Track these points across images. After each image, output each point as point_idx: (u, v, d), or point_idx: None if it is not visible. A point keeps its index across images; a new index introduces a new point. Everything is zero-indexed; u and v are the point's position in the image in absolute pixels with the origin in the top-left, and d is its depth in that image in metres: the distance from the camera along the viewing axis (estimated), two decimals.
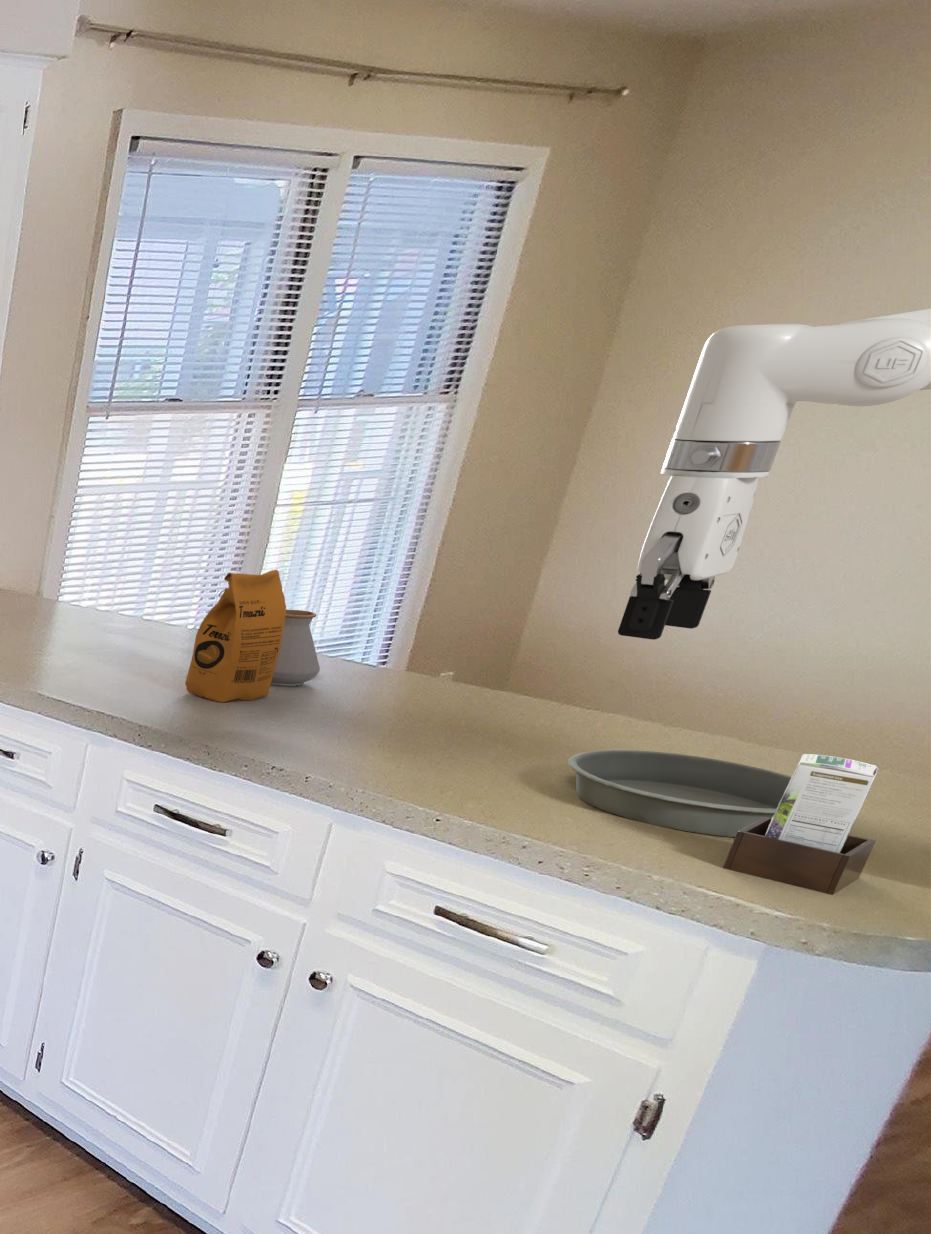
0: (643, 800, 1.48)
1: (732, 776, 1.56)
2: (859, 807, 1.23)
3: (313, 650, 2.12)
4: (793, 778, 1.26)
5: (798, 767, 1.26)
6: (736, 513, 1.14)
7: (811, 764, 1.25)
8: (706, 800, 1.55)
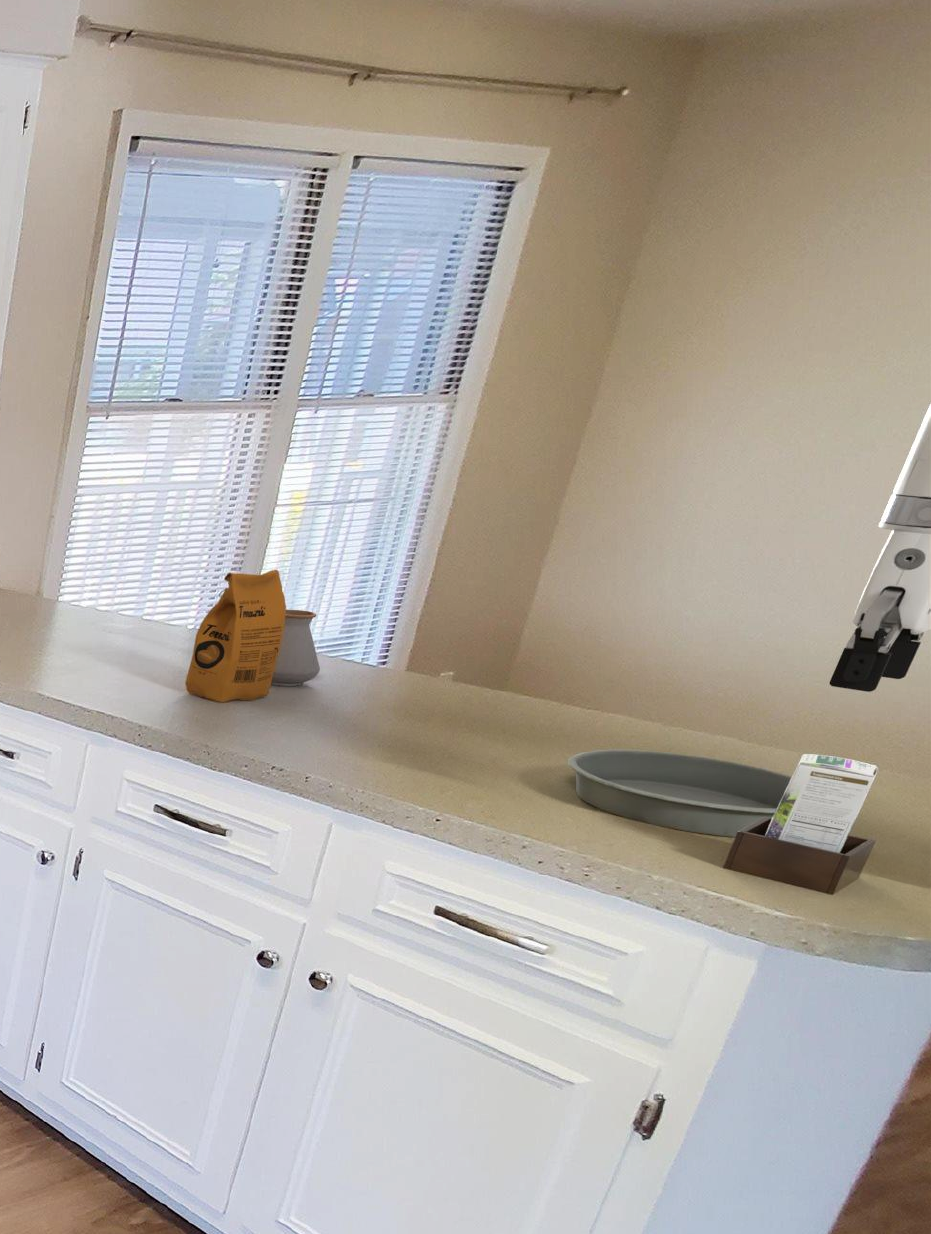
0: (643, 800, 1.48)
1: (732, 776, 1.56)
2: (859, 807, 1.23)
3: (313, 650, 2.12)
4: (793, 778, 1.26)
5: (798, 767, 1.26)
6: None
7: (811, 764, 1.25)
8: (706, 800, 1.55)
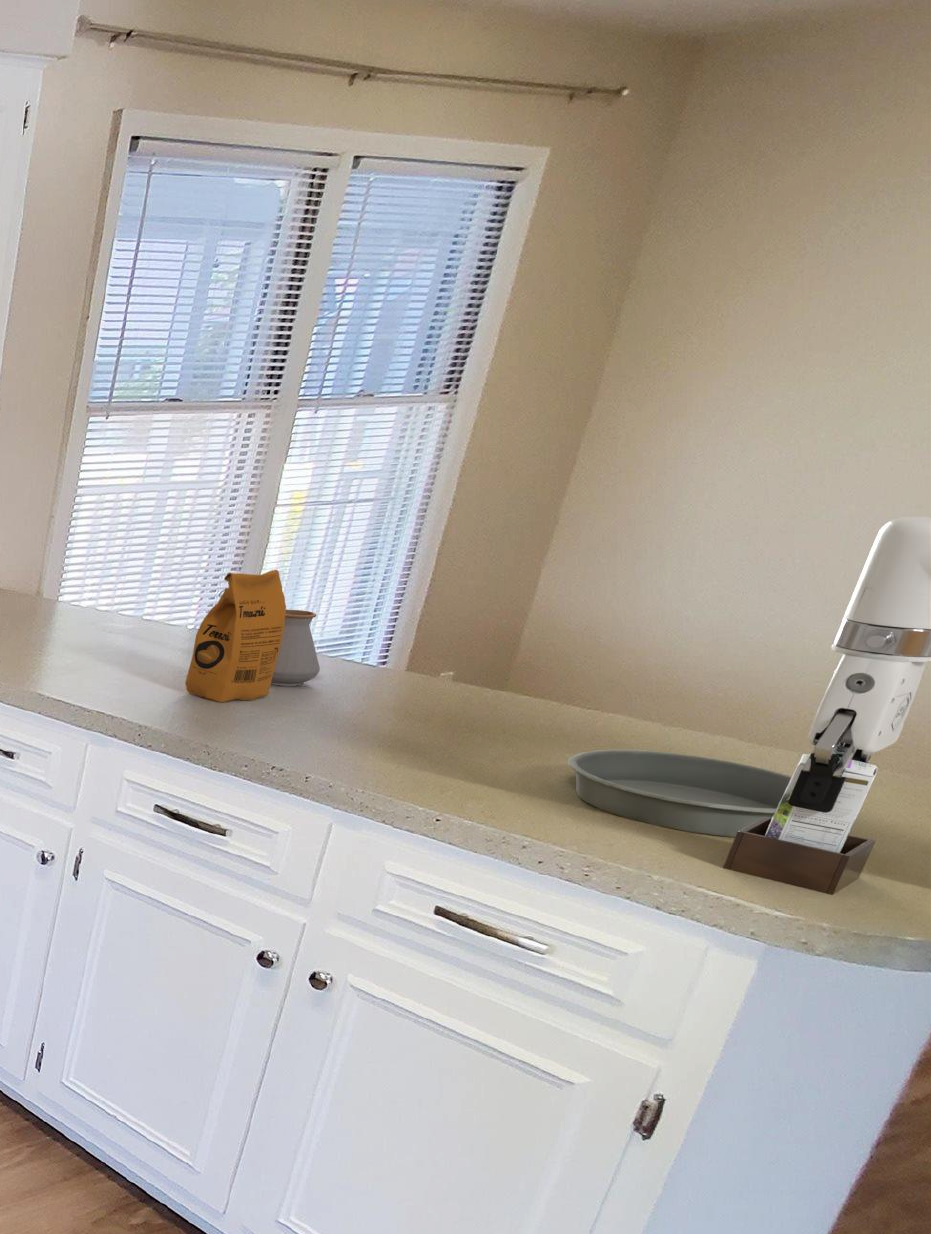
0: (643, 800, 1.48)
1: (732, 776, 1.56)
2: (859, 807, 1.23)
3: (313, 650, 2.12)
4: (793, 778, 1.26)
5: (798, 767, 1.26)
6: (908, 692, 1.20)
7: None
8: (706, 800, 1.55)
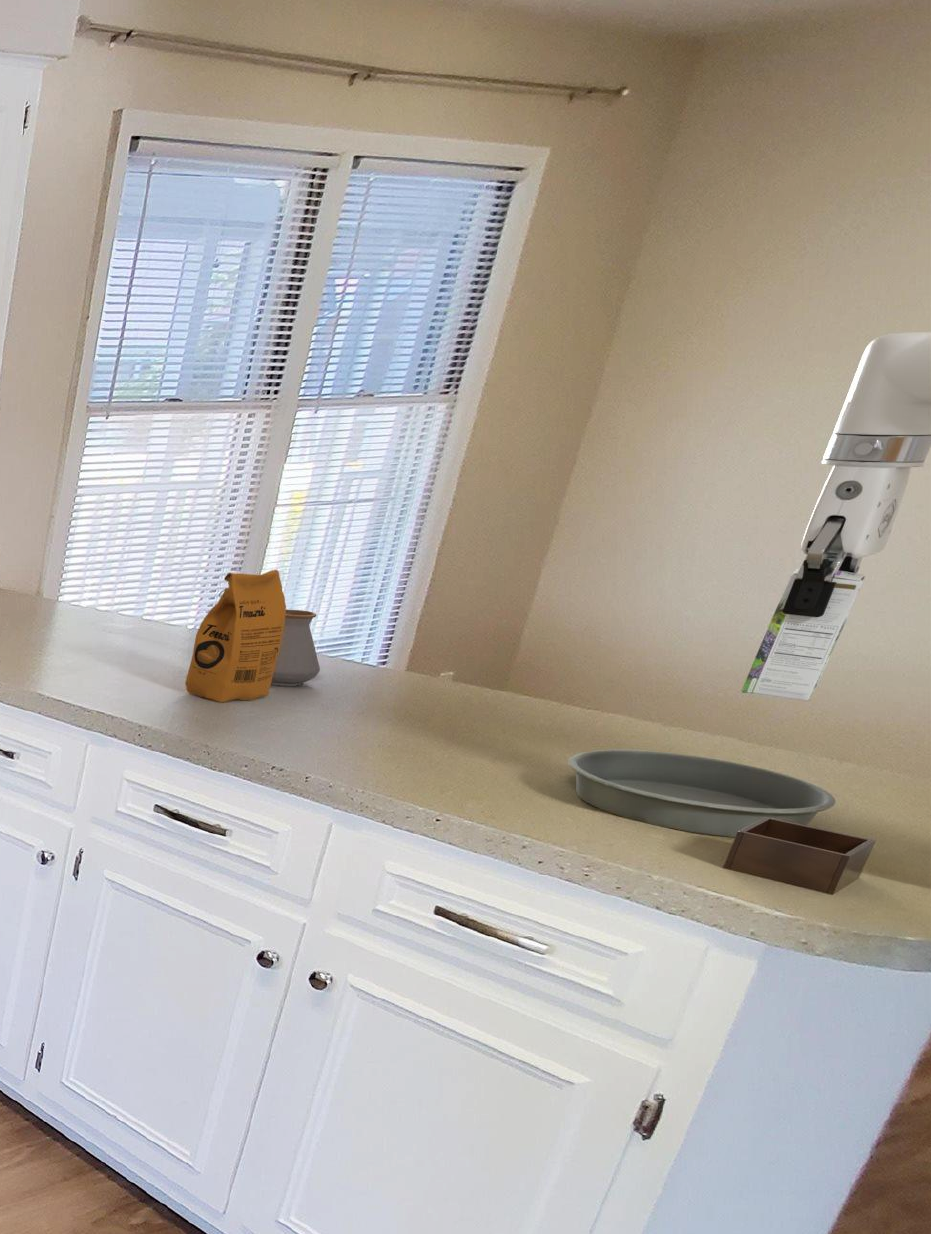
0: (643, 800, 1.48)
1: (732, 776, 1.56)
2: (847, 611, 1.33)
3: (313, 650, 2.12)
4: (786, 588, 1.36)
5: (791, 577, 1.35)
6: (893, 498, 1.29)
7: None
8: (706, 800, 1.55)
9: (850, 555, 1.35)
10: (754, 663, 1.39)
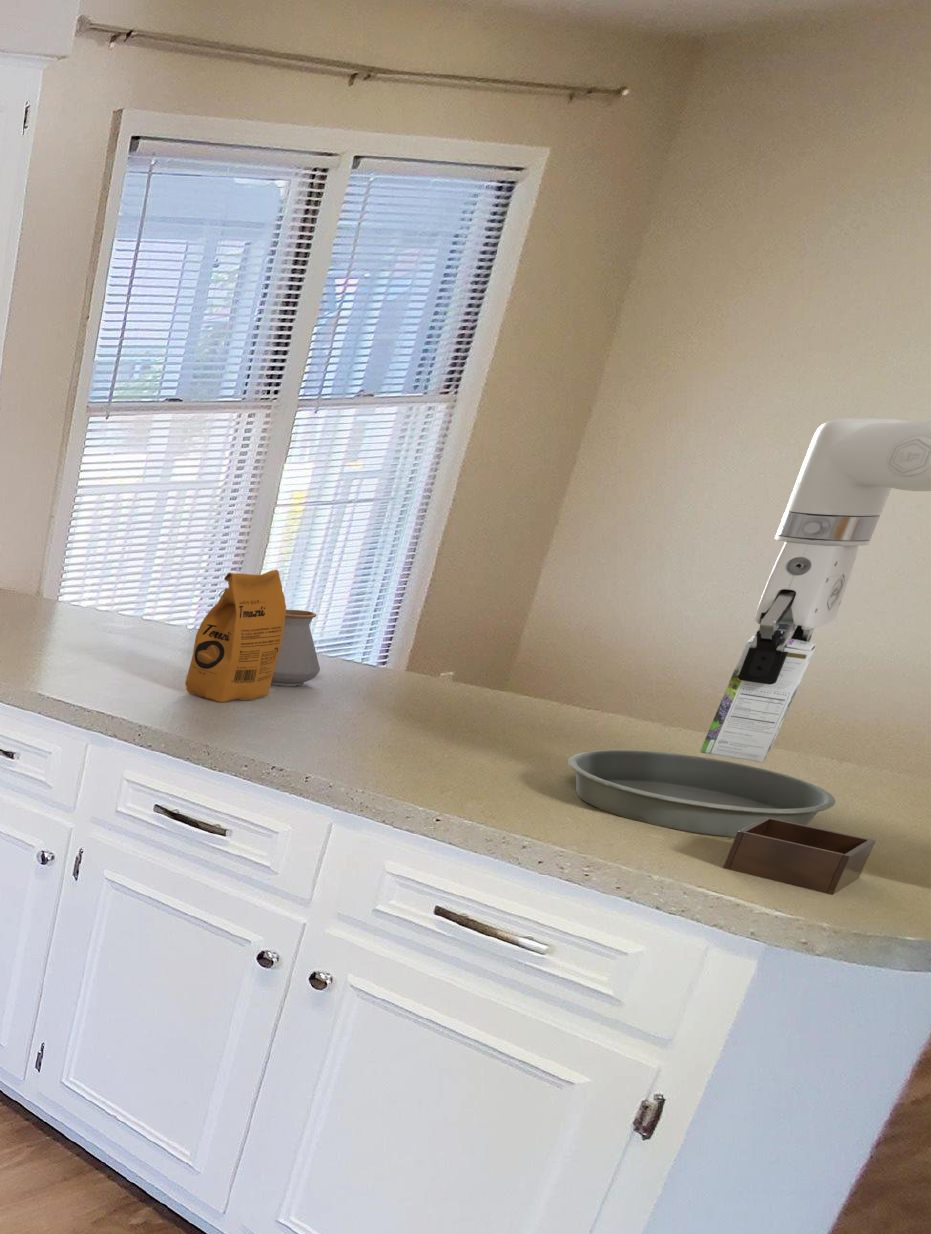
0: (643, 800, 1.48)
1: (732, 776, 1.56)
2: (798, 679, 1.40)
3: (313, 650, 2.12)
4: (741, 655, 1.43)
5: (746, 645, 1.42)
6: (841, 574, 1.36)
7: None
8: (706, 800, 1.55)
9: None
10: (712, 725, 1.46)
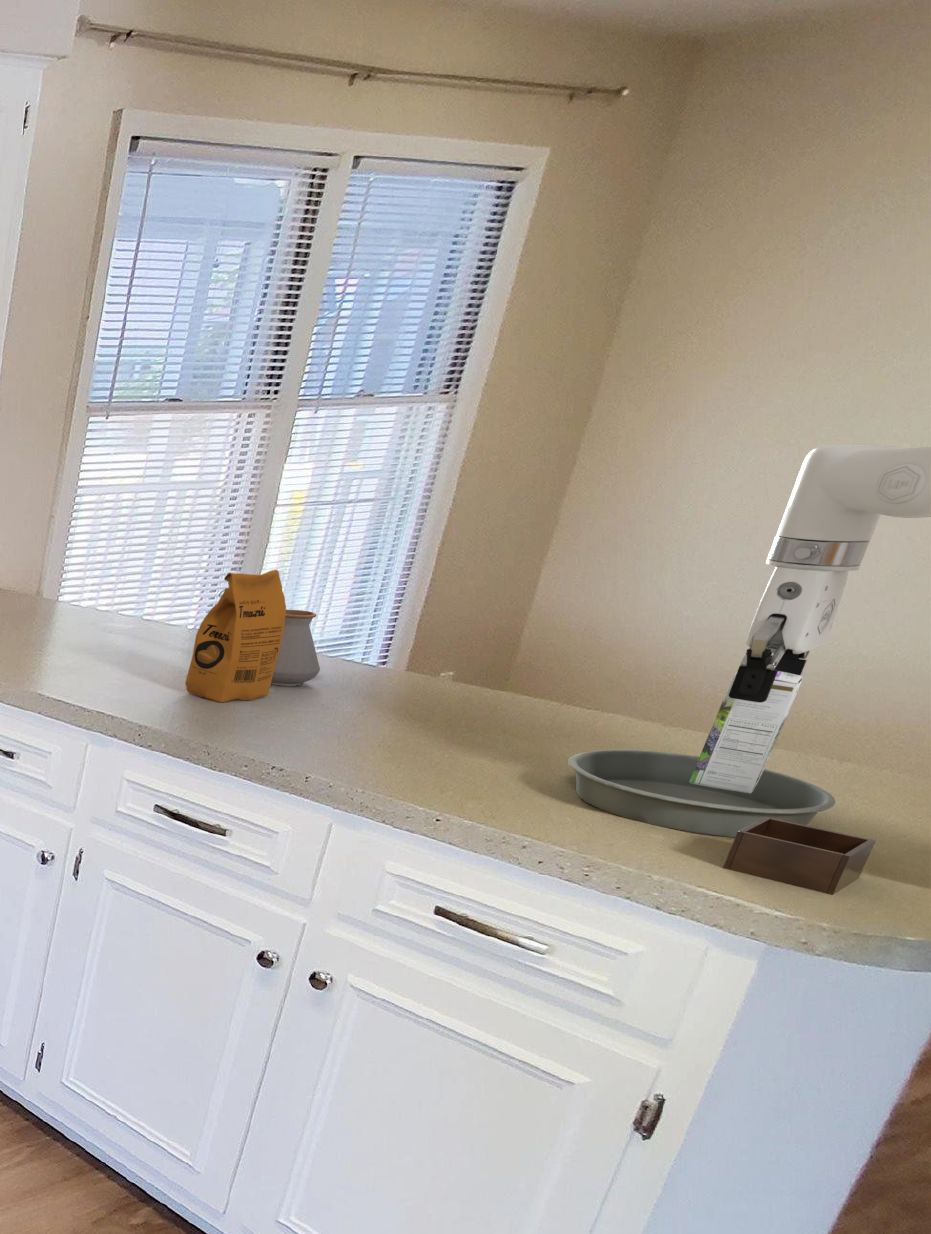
0: (643, 800, 1.48)
1: None
2: (785, 711, 1.41)
3: (313, 650, 2.12)
4: (729, 687, 1.44)
5: (733, 678, 1.44)
6: (831, 599, 1.37)
7: None
8: (706, 800, 1.55)
9: None
10: (701, 756, 1.48)
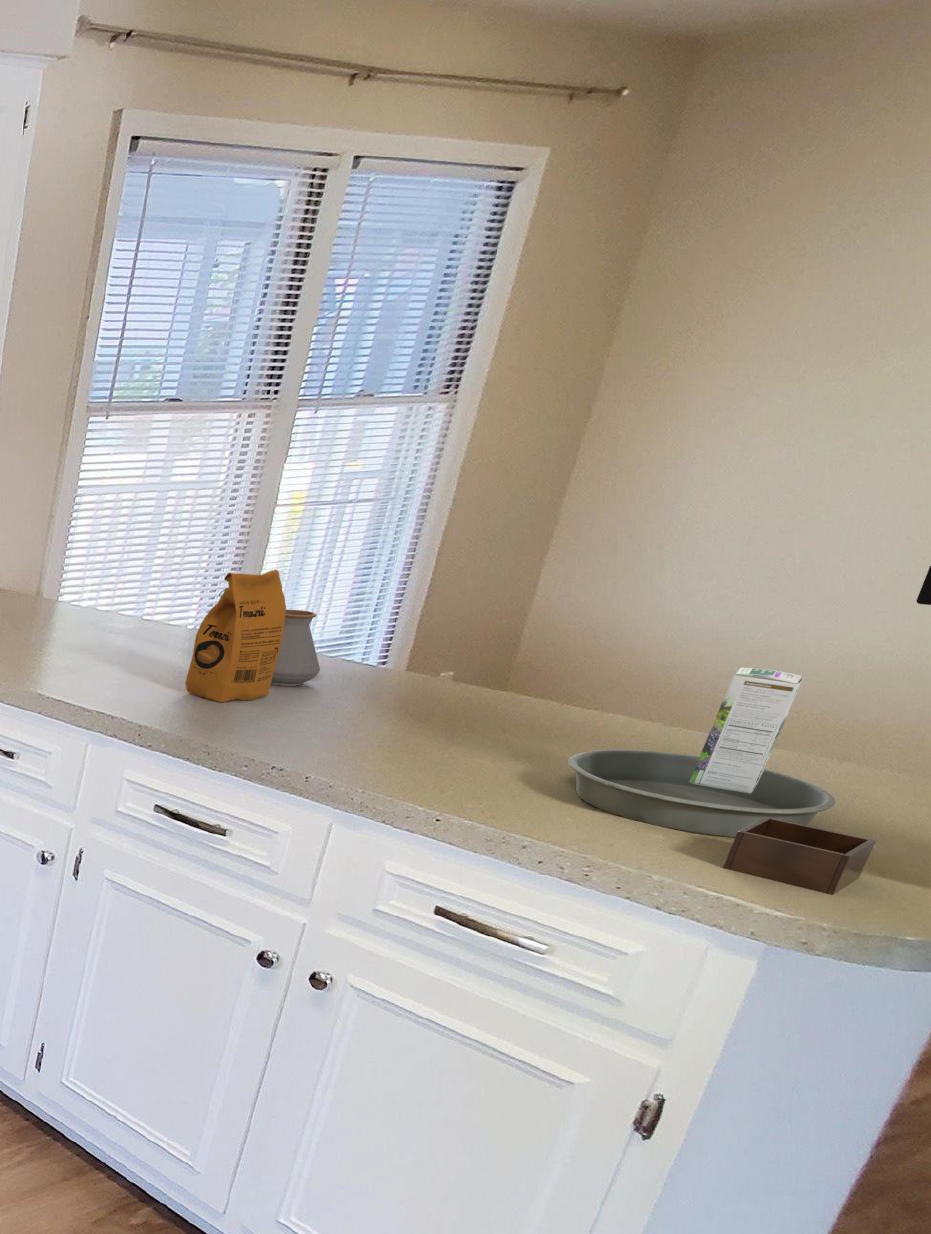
0: (643, 800, 1.48)
1: None
2: (785, 711, 1.41)
3: (313, 650, 2.12)
4: (729, 687, 1.44)
5: (733, 677, 1.44)
6: None
7: (745, 675, 1.43)
8: (706, 800, 1.55)
9: None
10: (701, 756, 1.48)
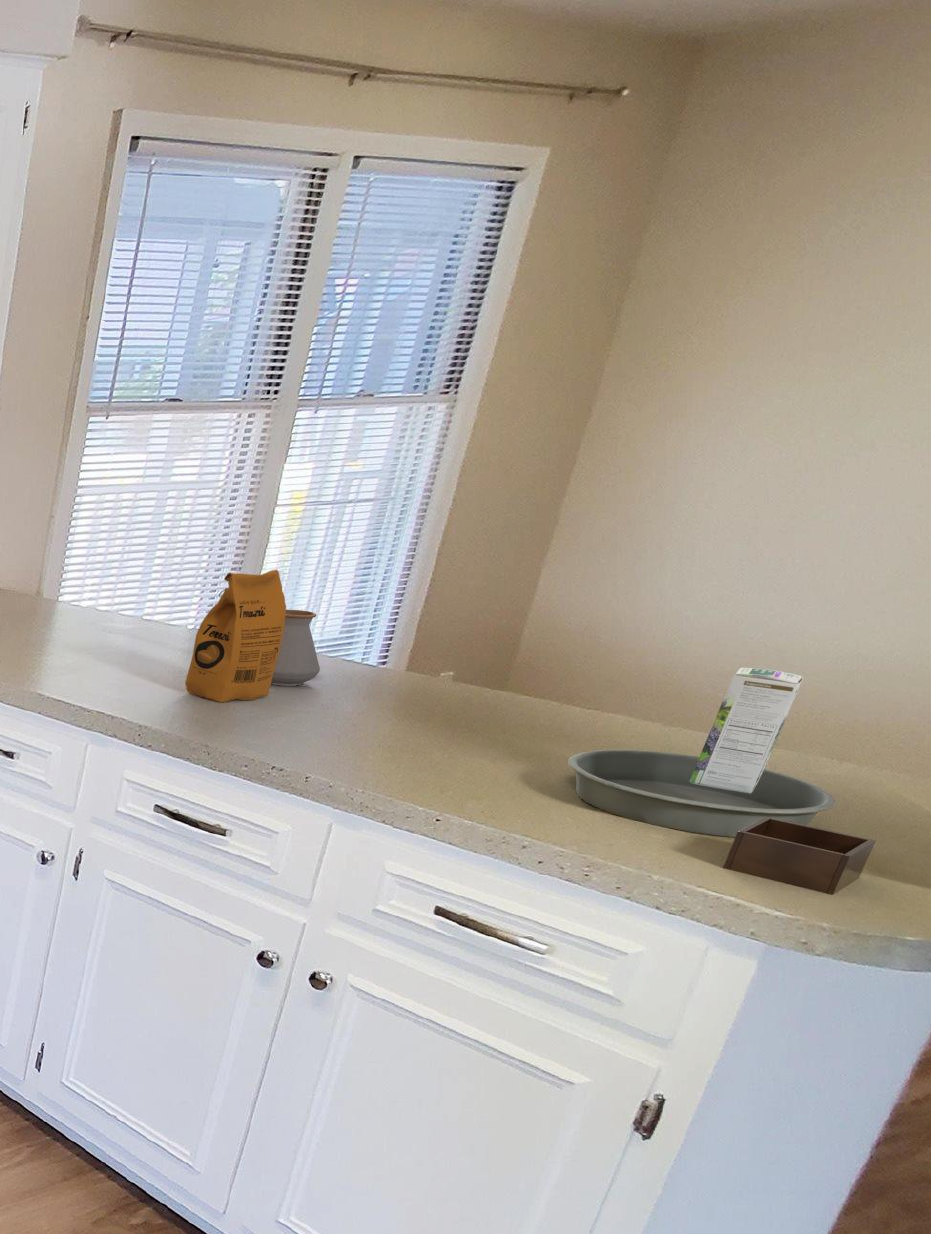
0: (643, 800, 1.48)
1: None
2: (785, 711, 1.41)
3: (313, 650, 2.12)
4: (729, 687, 1.44)
5: (733, 677, 1.44)
6: None
7: (745, 675, 1.43)
8: (706, 800, 1.55)
9: None
10: (701, 756, 1.48)
